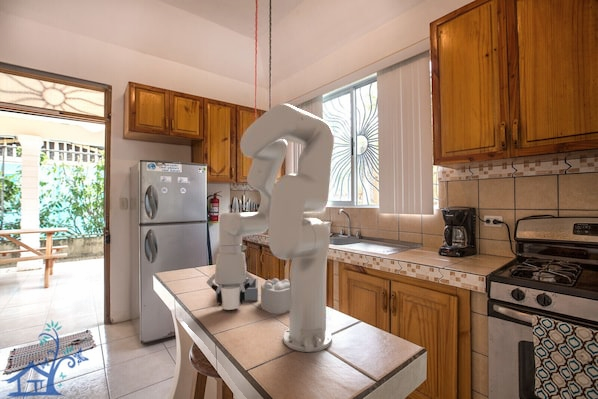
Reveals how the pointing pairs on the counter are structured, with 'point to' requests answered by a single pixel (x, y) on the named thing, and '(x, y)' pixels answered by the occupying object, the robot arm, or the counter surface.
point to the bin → (251, 291)
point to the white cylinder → (230, 296)
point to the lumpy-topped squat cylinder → (275, 296)
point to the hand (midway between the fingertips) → (231, 303)
